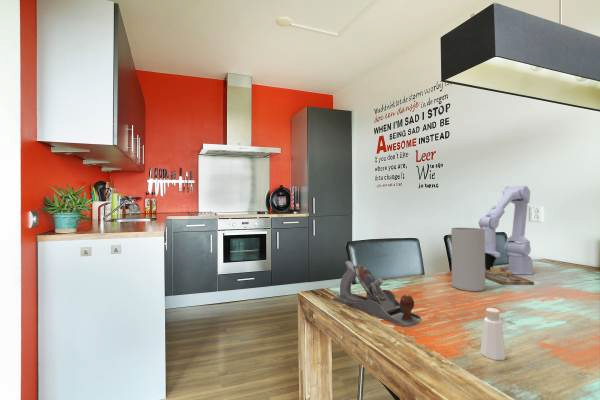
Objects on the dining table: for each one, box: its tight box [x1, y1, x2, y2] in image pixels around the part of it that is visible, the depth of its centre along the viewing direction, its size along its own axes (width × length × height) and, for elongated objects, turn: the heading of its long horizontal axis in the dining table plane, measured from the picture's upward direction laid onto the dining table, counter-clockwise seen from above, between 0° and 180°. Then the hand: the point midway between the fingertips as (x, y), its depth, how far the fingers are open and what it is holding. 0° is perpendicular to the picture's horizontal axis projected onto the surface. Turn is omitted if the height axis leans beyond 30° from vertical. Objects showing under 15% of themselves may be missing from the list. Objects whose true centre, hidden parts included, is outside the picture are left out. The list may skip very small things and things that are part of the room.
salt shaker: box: [479, 307, 507, 361], centre depth 77 cm, size 5×5×11 cm
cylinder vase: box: [451, 227, 486, 292], centre depth 135 cm, size 12×12×25 cm
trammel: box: [485, 268, 509, 282], centre depth 150 cm, size 9×21×4 cm, turn 0°
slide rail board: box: [485, 270, 535, 286], centre depth 150 cm, size 14×22×1 cm, turn 0°
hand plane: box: [332, 260, 422, 328], centre depth 109 cm, size 9×33×15 cm, turn 35°
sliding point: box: [489, 266, 513, 276], centre depth 148 cm, size 9×2×4 cm, turn 90°
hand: (488, 269), depth 152 cm, fingers closed
